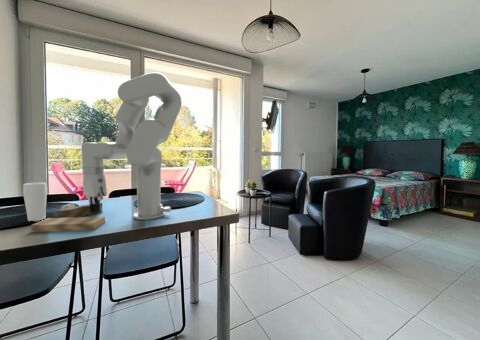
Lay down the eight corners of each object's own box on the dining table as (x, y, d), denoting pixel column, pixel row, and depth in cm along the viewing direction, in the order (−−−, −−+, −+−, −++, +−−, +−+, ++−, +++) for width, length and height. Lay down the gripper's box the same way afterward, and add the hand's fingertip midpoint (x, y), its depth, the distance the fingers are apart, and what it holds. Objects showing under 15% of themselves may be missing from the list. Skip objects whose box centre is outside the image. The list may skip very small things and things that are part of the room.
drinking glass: (33, 223, 82) (31, 185, 80) (20, 221, 83) (17, 184, 82) (52, 218, 88) (50, 182, 87) (39, 216, 90) (37, 181, 88)
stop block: (75, 211, 98) (74, 203, 97) (68, 215, 93) (67, 206, 93) (69, 212, 97) (68, 203, 97) (62, 215, 92) (61, 206, 92)
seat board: (106, 221, 85) (106, 215, 85) (94, 229, 76) (94, 223, 76) (50, 223, 82) (49, 217, 82) (31, 232, 73) (30, 225, 73)
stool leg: (57, 222, 82) (57, 211, 82) (53, 221, 84) (52, 210, 83) (102, 211, 98) (102, 202, 98) (98, 210, 100) (97, 201, 99)
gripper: (112, 171, 92) (113, 212, 93) (92, 169, 98) (94, 208, 100) (94, 172, 85) (96, 216, 86) (74, 170, 92) (76, 211, 93)
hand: (95, 212), depth 93 cm, fingers closed
